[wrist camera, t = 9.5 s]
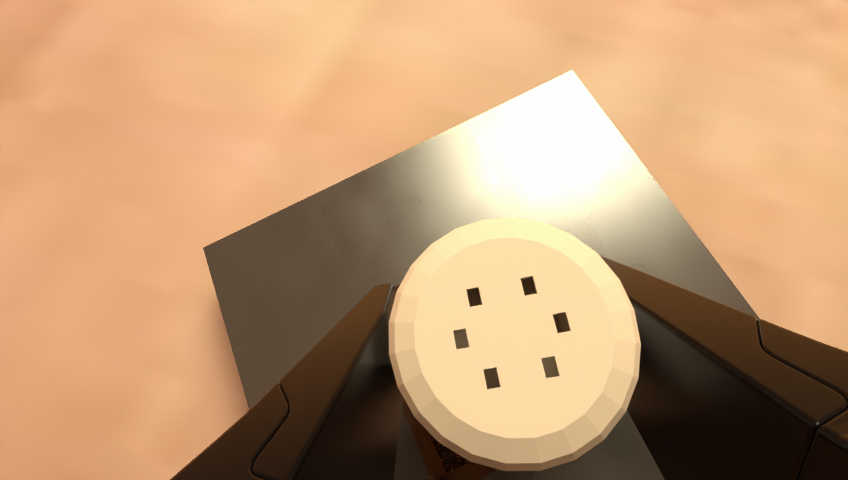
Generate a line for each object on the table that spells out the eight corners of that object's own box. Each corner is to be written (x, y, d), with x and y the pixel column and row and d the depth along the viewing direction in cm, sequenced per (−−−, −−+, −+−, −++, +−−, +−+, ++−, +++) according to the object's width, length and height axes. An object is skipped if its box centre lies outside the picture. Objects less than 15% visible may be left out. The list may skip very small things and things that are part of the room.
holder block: (806, 470, 14) (894, 497, 11) (380, 687, 13) (354, 775, 10) (557, 114, 19) (572, 70, 16) (245, 265, 18) (203, 247, 15)
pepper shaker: (542, 272, 15) (674, 73, 5) (583, 424, 14) (920, 604, 3) (404, 298, 16) (263, 164, 5) (427, 450, 14) (284, 684, 4)
